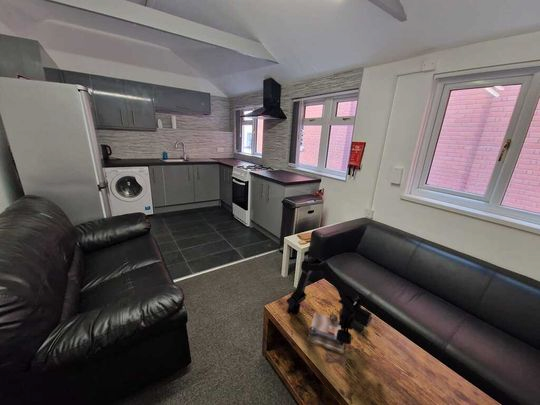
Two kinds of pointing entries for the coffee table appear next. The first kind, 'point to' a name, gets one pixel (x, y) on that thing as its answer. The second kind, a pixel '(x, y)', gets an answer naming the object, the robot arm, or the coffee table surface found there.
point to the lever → (323, 335)
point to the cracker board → (326, 331)
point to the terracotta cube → (331, 332)
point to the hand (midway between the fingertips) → (342, 337)
